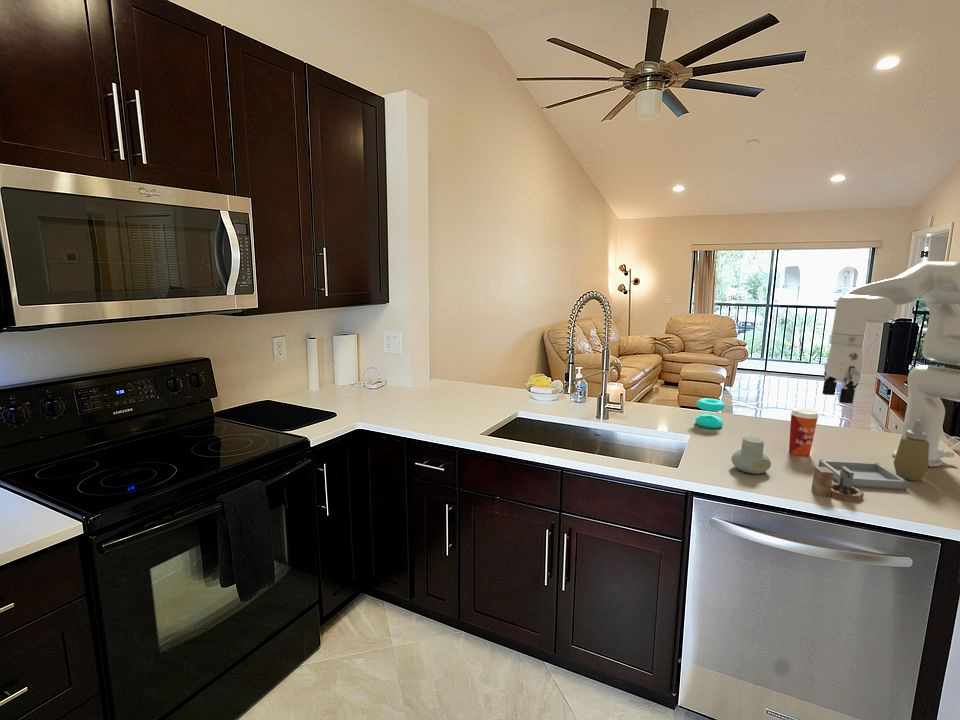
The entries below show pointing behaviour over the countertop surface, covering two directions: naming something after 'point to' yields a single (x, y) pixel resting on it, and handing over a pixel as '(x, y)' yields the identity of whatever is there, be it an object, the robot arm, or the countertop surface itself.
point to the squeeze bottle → (912, 454)
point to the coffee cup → (802, 431)
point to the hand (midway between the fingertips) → (836, 398)
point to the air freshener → (751, 456)
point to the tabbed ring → (831, 486)
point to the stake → (845, 480)
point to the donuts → (712, 406)
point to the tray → (866, 474)
